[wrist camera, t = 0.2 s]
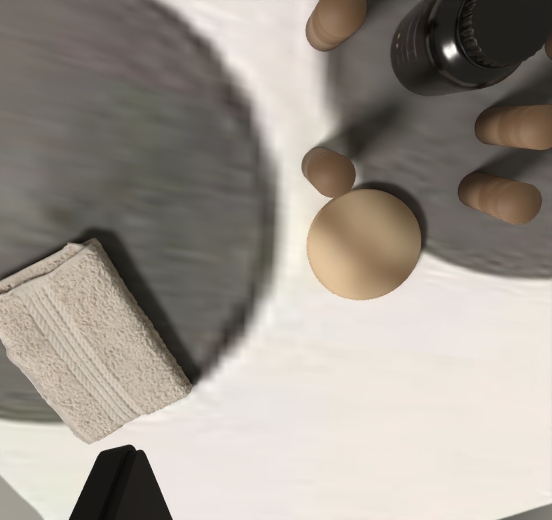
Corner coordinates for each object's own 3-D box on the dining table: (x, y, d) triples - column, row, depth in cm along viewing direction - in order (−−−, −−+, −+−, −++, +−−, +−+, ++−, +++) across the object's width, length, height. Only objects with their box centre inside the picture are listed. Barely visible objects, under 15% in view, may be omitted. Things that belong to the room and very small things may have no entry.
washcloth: (94, 226, 38) (81, 235, 35) (199, 383, 44) (195, 402, 41) (-20, 287, 39) (-41, 301, 36) (96, 433, 45) (86, 455, 42)
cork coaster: (345, 167, 37) (347, 168, 36) (439, 223, 39) (443, 225, 38) (286, 265, 40) (287, 268, 39) (377, 313, 42) (380, 318, 41)
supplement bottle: (484, 13, 34) (599, -39, 23) (457, 104, 36) (551, 97, 25) (400, -8, 34) (477, -72, 22) (377, 86, 36) (437, 72, 24)
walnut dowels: (384, -124, 31) (420, -189, 25) (598, 41, 36) (678, 23, 29) (242, 142, 36) (241, 147, 30) (444, 259, 41) (482, 287, 34)
